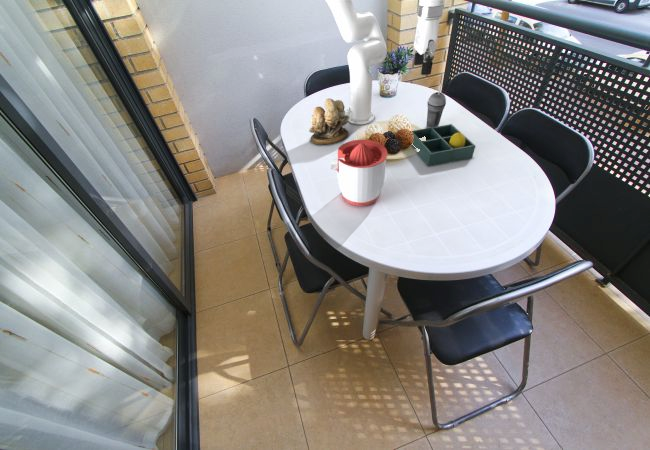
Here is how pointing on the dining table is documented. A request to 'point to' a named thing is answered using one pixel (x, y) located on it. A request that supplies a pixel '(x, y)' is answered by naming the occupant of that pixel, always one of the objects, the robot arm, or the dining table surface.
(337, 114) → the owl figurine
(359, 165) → the citrus juicer
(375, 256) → the dining table surface
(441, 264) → the dining table surface
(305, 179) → the dining table surface
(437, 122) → the beverage cup
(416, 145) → the divided storage tray
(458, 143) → the lemon
